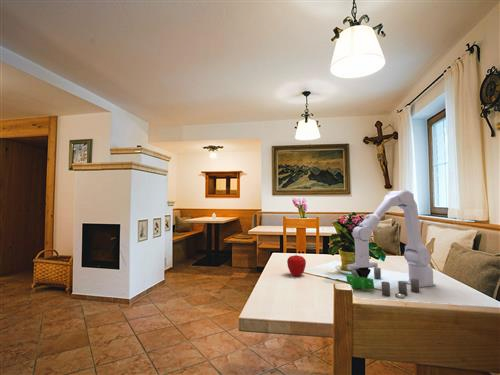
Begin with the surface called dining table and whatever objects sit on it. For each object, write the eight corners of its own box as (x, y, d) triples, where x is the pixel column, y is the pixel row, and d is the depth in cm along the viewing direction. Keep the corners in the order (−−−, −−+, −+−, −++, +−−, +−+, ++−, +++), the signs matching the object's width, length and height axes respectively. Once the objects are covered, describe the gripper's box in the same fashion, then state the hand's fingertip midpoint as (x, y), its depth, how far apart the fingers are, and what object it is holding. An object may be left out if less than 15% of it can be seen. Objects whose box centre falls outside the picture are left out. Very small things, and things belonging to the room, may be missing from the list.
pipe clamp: (345, 288, 118) (343, 278, 117) (348, 283, 120) (346, 274, 120) (372, 293, 110) (370, 283, 109) (374, 288, 113) (373, 278, 112)
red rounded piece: (307, 277, 134) (307, 256, 134) (288, 278, 134) (288, 256, 134) (304, 272, 143) (303, 252, 144) (286, 272, 144) (286, 252, 144)
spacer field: (378, 277, 133) (378, 267, 134) (423, 293, 109) (422, 280, 110) (348, 280, 129) (348, 269, 129) (388, 298, 105) (388, 285, 105)
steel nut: (398, 295, 108) (398, 292, 108) (406, 298, 105) (406, 294, 105) (393, 297, 106) (393, 293, 106) (401, 299, 103) (401, 296, 103)
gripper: (369, 251, 123) (370, 280, 123) (342, 253, 119) (343, 283, 119) (380, 254, 117) (381, 285, 116) (352, 256, 113) (353, 288, 112)
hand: (363, 285), depth 117 cm, fingers closed, pressing on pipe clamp
